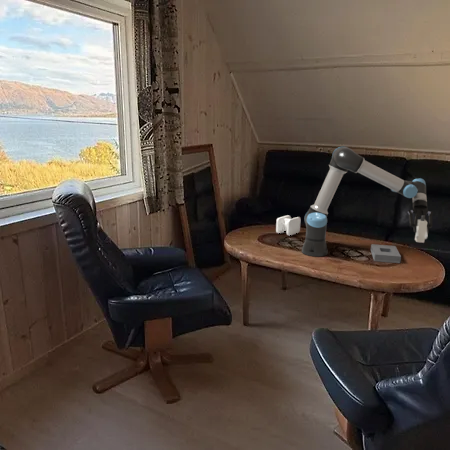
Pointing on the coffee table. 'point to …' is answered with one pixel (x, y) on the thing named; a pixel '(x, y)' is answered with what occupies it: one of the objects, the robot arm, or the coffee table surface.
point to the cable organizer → (288, 225)
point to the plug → (421, 229)
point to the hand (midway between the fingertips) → (421, 237)
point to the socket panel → (385, 253)
